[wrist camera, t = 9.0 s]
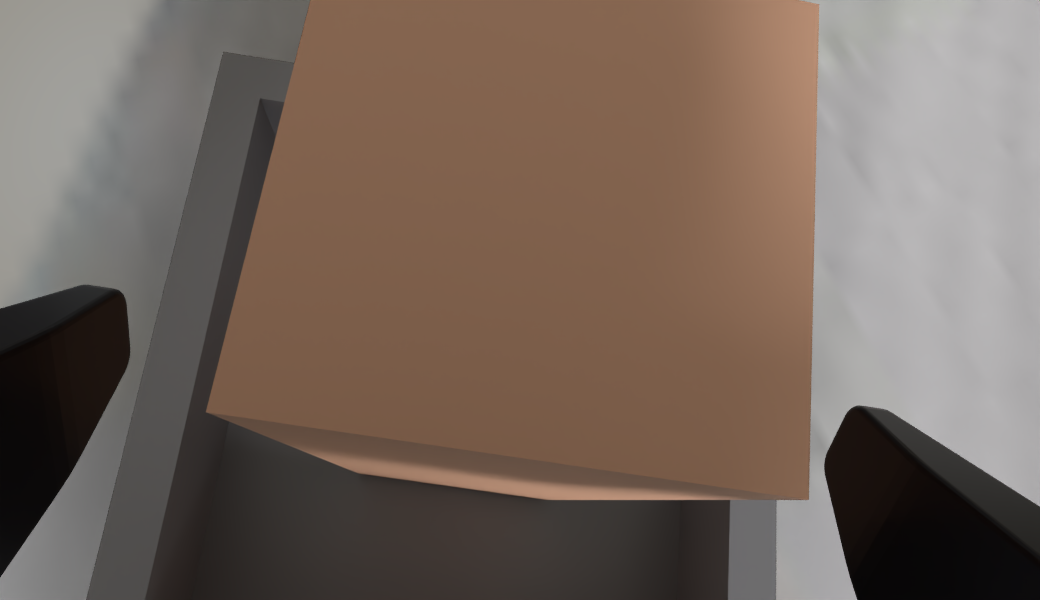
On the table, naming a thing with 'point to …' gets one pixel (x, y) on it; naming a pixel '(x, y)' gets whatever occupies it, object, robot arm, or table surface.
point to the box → (341, 492)
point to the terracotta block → (539, 248)
